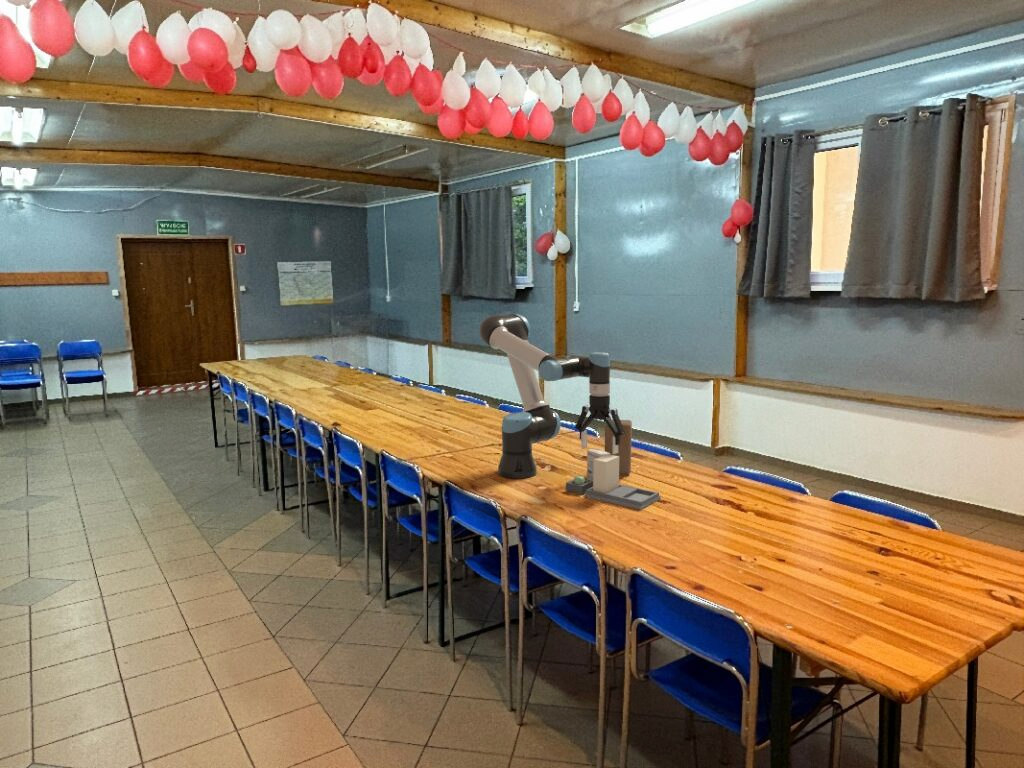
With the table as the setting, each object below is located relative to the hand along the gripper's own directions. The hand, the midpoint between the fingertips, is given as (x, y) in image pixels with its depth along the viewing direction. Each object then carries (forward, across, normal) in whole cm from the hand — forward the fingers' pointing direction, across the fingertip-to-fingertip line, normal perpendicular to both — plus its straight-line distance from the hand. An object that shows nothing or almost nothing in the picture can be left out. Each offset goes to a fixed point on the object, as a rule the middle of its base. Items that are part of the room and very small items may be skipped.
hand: (599, 450), depth 251 cm
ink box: (+12, 0, 0) cm, 12 cm away
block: (+12, -2, +16) cm, 20 cm away
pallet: (+12, +16, -11) cm, 23 cm away
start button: (+11, -1, -13) cm, 17 cm away
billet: (+11, +10, -11) cm, 18 cm away
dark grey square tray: (+12, 0, -13) cm, 18 cm away
